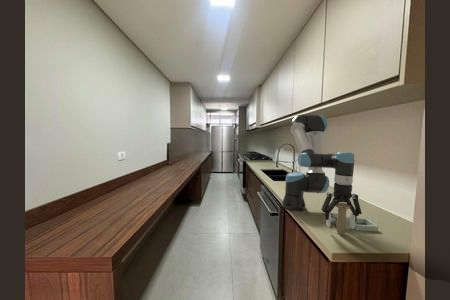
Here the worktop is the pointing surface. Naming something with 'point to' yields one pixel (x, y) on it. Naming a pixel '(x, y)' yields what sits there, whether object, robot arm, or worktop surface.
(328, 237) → the worktop surface
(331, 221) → the lock pin
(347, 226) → the dock
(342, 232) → the handle
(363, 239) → the worktop surface
